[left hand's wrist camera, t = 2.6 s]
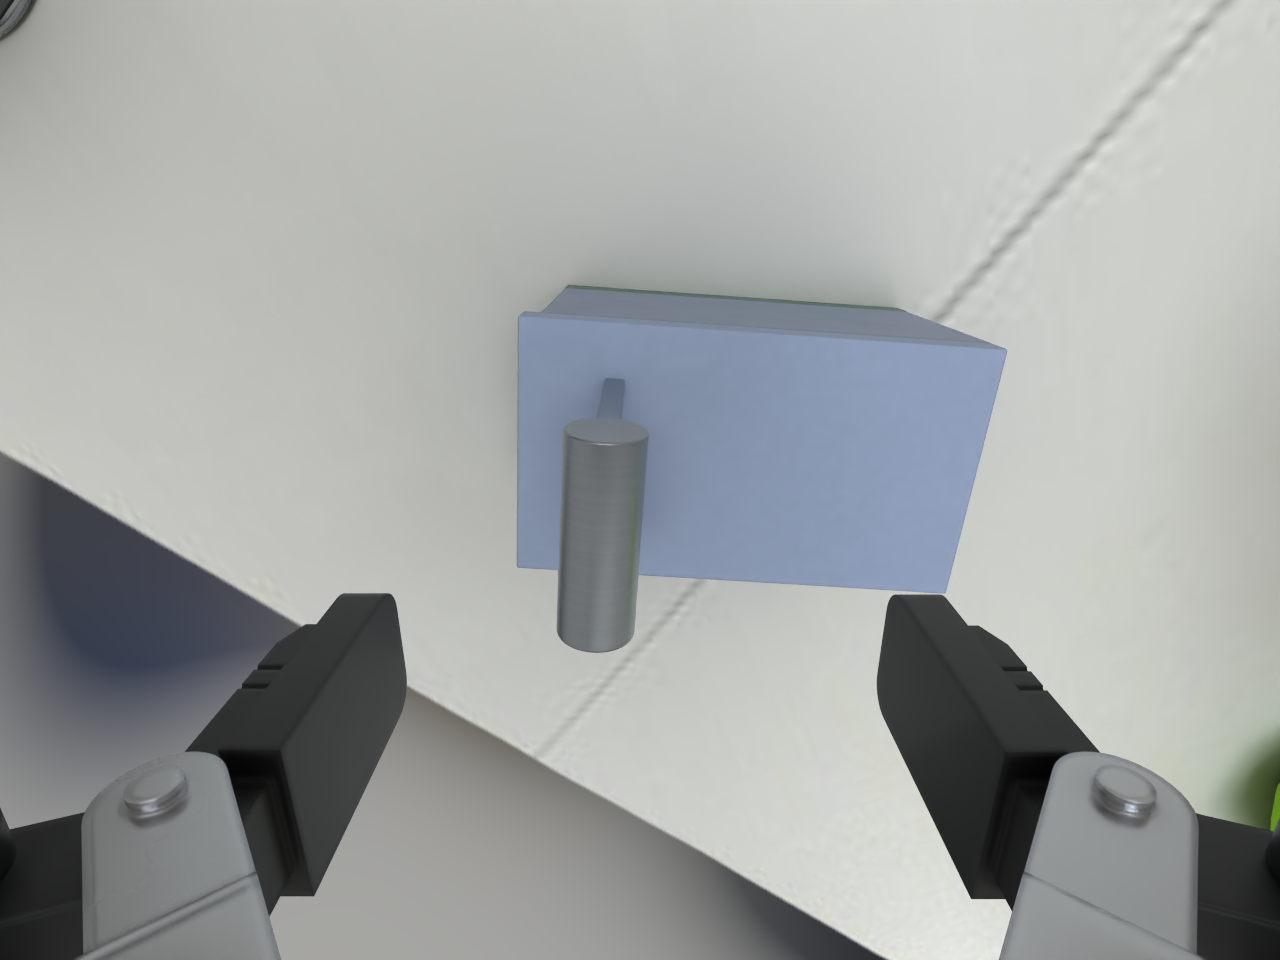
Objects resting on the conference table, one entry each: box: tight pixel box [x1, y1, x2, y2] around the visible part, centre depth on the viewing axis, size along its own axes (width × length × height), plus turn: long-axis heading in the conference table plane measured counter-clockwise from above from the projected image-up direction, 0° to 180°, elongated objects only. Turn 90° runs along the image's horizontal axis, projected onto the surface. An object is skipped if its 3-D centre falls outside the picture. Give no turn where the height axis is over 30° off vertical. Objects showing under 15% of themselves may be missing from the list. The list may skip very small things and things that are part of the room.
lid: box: [517, 312, 1007, 653], centre depth 22 cm, size 17×10×9 cm, turn 86°
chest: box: [541, 285, 991, 344], centre depth 31 cm, size 16×10×10 cm, turn 86°
